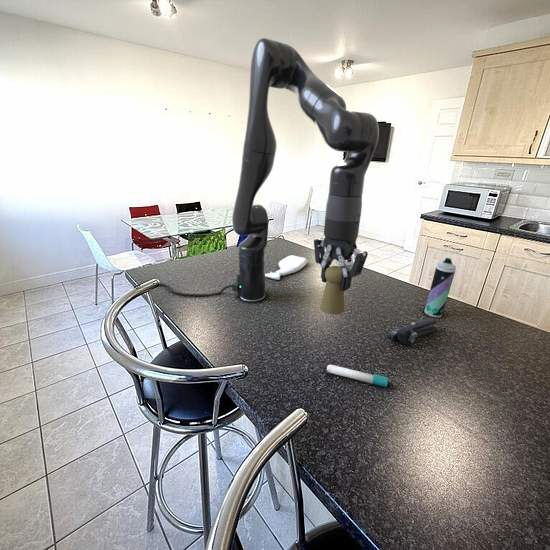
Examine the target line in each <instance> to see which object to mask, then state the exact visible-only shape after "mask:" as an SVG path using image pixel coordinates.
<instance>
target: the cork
mask: <svg viewBox="0 0 550 550" xmlns="http://www.w3.org/2000/svg"><path fill="white" fill-rule="evenodd" d="M342 276H343V271H342V268H341V267H340V265H330V266H329V267H328V268H327V269H326V271H325V278H326V280H327V281H326V282H325V286H324V290H323V294H322V298H321V301H320V306H319V308H320V310H321V311H322V312H323V313H325V314H327V315H335V316H336V315H341V314H343V313H344V312H345V291H342V290H341V282H342Z"/></svg>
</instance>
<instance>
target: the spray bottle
mask: <svg viewBox="0 0 550 550" xmlns="http://www.w3.org/2000/svg"><path fill="white" fill-rule="evenodd" d="M307 264H308V260H307V258H306V257H302V256H297V255H293V254H291V255H288V256H286V257H284V258H282V259H281V260H280V261H279V262H278V267H279V269H278V270H276V271H275V272H272V271H270V272H269V273H265V278H269V279H273V280H279V281H280V280H281V277H283V276H287V275H290V274H294V273H296V272H298V271H300V270H302V268H304V267H306V265H307Z"/></svg>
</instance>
